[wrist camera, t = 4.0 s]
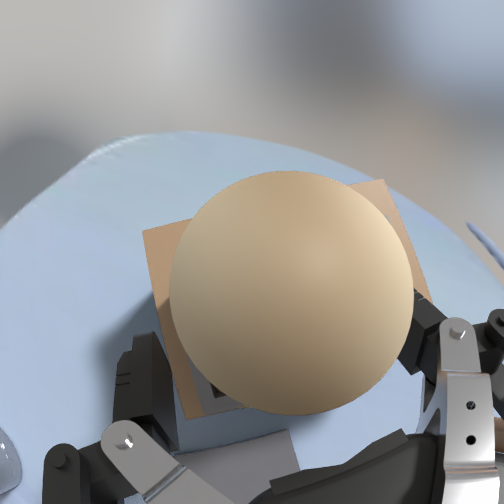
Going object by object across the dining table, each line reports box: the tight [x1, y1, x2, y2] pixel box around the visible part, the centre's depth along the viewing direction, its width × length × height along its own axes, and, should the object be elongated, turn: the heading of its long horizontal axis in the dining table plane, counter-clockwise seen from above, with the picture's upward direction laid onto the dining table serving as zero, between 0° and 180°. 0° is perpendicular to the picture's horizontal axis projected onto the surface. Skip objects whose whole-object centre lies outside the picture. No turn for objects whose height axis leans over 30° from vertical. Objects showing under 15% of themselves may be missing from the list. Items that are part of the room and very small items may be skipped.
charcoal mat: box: [174, 429, 300, 504], centre depth 23 cm, size 11×11×1 cm
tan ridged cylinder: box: [169, 171, 414, 415], centre depth 12 cm, size 5×5×14 cm
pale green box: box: [142, 179, 433, 420], centre depth 23 cm, size 19×13×13 cm
